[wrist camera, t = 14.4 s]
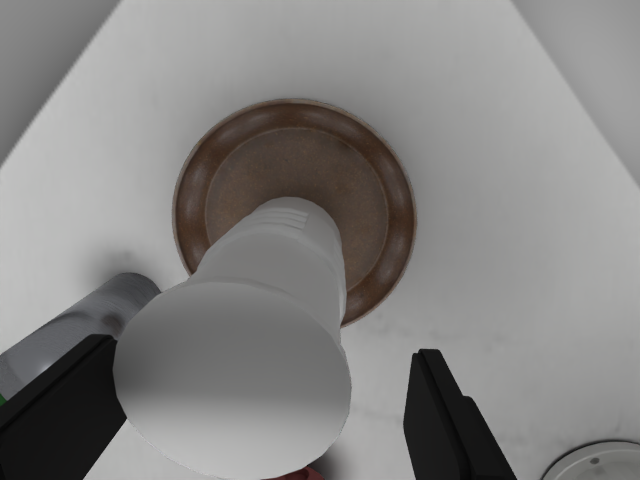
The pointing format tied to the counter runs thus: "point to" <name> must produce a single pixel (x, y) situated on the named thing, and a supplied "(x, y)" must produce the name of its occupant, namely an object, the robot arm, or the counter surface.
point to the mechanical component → (300, 475)
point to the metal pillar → (75, 329)
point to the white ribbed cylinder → (245, 350)
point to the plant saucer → (302, 189)
